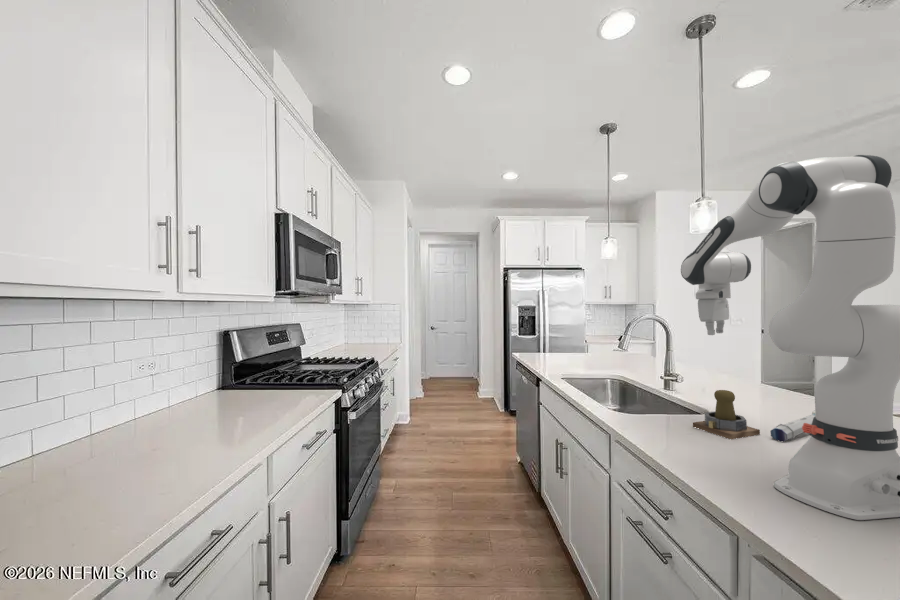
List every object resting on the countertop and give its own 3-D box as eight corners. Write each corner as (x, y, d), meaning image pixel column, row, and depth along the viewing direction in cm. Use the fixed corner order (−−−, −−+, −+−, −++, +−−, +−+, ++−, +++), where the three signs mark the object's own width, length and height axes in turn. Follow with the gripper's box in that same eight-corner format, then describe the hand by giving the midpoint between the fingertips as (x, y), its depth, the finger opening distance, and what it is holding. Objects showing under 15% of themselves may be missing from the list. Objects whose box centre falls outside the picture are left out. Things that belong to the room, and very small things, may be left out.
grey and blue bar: (766, 425, 108) (814, 404, 117) (769, 447, 108) (817, 424, 117) (788, 430, 103) (836, 408, 112) (791, 453, 103) (839, 429, 112)
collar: (727, 433, 108) (726, 423, 108) (695, 423, 118) (695, 413, 118) (753, 429, 111) (753, 419, 111) (721, 419, 121) (720, 410, 121)
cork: (741, 426, 114) (739, 390, 114) (733, 430, 111) (731, 393, 111) (718, 421, 119) (717, 387, 119) (710, 425, 116) (709, 390, 116)
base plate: (730, 439, 107) (730, 434, 107) (692, 427, 119) (692, 422, 119) (760, 434, 111) (759, 429, 111) (720, 423, 122) (720, 418, 122)
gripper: (712, 294, 135) (713, 331, 134) (693, 293, 122) (695, 335, 121) (733, 293, 130) (735, 332, 130) (716, 293, 117) (717, 336, 116)
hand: (715, 334), depth 125 cm, fingers open, 8 cm apart
